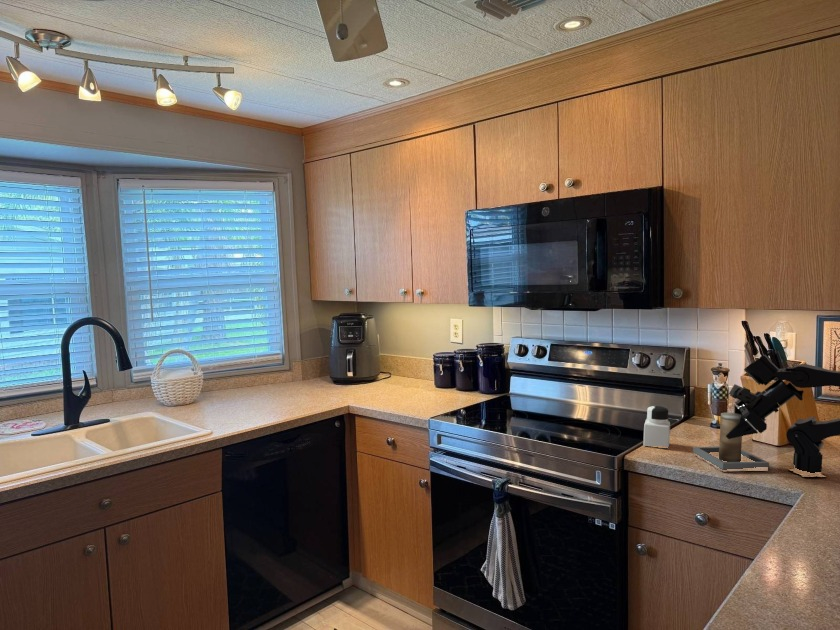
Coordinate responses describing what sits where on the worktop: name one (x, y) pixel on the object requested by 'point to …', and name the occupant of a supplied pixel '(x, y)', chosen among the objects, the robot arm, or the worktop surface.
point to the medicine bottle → (657, 427)
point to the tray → (722, 465)
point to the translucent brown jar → (729, 447)
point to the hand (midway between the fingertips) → (725, 433)
